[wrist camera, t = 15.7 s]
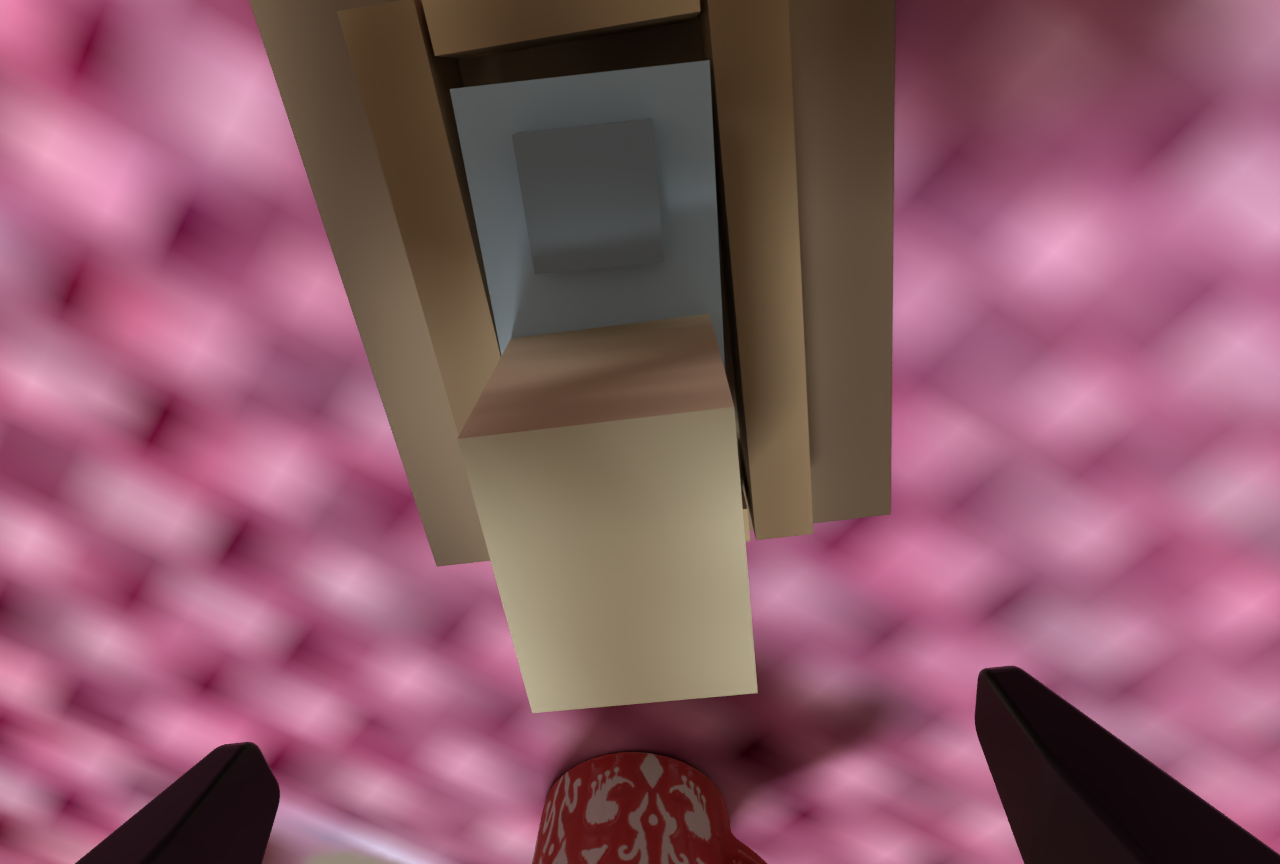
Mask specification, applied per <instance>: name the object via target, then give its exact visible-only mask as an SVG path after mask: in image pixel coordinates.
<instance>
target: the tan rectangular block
mask: <svg viewBox="0 0 1280 864" xmlns="http://www.w3.org/2000/svg"><path fill="white" fill-rule="evenodd" d="M457 440H458V443H459V447H460V451H461V454H462V458H463V462H464V465H465V469H466V473H467V476H468V480H469V484H470V487H471V491H472V495H473V498H474V502H475V506H476V509H477V513H478V516H479V520H480V524H481V527H482V531H483V535H484V538H485V542H486V546H487V549H488V553H489V557H490V560H491V564H492V568H493V571H494V575H495V579H496V582H497V586H498V590H499V593H500V597H501V601H502V604H503V608H504V612H505V615H506V619H507V622H508V626H509V630H510V633H511V637H512V641H513V644H514V648H515V652H516V655H517V659H518V663H519V666H520V670H521V674H522V677H523V681H524V685H525V688H526V692H527V696H528V699H529V703H530V707H531V710H532V713H540V712H551V711H562V710H573V709H585V708H596V707H607V706H618V705H630V704H641V703H652V702H663V701H674V700H686V699H697V698H708V697H719V696H731V695H742V694H753V693H758V690H757V678H756V666H755V654H754V641H753V629H752V617H751V605H750V593H749V580H748V568H747V556H746V544H745V532H744V519H743V507H742V495H741V483H740V471H739V458H738V446H737V434H736V422H735V410H734V404H733V400H732V396H731V393H730V389H729V385H728V381H727V377H726V374H725V370H724V366H723V362H722V358H721V355H720V351H719V347H718V343H717V340H716V336H715V332H714V328H713V324H712V321H711V317H710V314H702V315H694V316H686V317H678V318H670V319H662V320H654V321H646V322H638V323H630V324H622V325H614V326H606V327H598V328H590V329H582V330H574V331H566V332H558V333H550V334H542V335H534V336H526V337H518V338H511V339H510V341H509V343H508V345H507V347H506V349H505V350H504V352H503V354H502V356H501V358H500V360H499V362H498V364H497V365H496V367H495V369H494V371H493V373H492V375H491V377H490V379H489V380H488V382H487V384H486V386H485V388H484V390H483V392H482V394H481V396H480V397H479V399H478V401H477V403H476V405H475V407H474V409H473V411H472V412H471V414H470V416H469V418H468V420H467V422H466V424H465V426H464V427H463V429H462V431H461V433H460V435H459V437H458V439H457Z"/></svg>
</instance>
